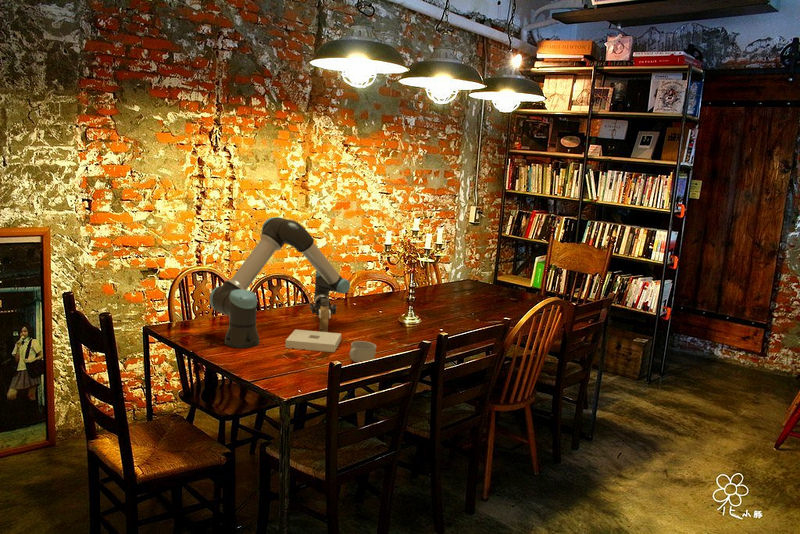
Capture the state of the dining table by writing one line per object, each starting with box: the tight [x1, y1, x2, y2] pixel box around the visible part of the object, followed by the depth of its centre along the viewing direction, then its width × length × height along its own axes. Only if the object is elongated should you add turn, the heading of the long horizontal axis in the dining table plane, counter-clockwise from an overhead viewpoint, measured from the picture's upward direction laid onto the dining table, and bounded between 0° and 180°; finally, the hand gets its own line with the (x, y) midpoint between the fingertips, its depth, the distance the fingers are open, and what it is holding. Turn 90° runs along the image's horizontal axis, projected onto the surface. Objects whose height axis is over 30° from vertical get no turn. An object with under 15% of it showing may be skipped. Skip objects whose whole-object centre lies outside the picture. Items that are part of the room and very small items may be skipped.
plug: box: [318, 298, 330, 332], centre depth 302 cm, size 4×4×16 cm
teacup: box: [349, 340, 377, 363], centre depth 265 cm, size 14×11×8 cm
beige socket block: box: [284, 329, 342, 353], centre depth 287 cm, size 22×18×4 cm
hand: (325, 315), depth 297 cm, fingers closed on plug, 4 cm apart
